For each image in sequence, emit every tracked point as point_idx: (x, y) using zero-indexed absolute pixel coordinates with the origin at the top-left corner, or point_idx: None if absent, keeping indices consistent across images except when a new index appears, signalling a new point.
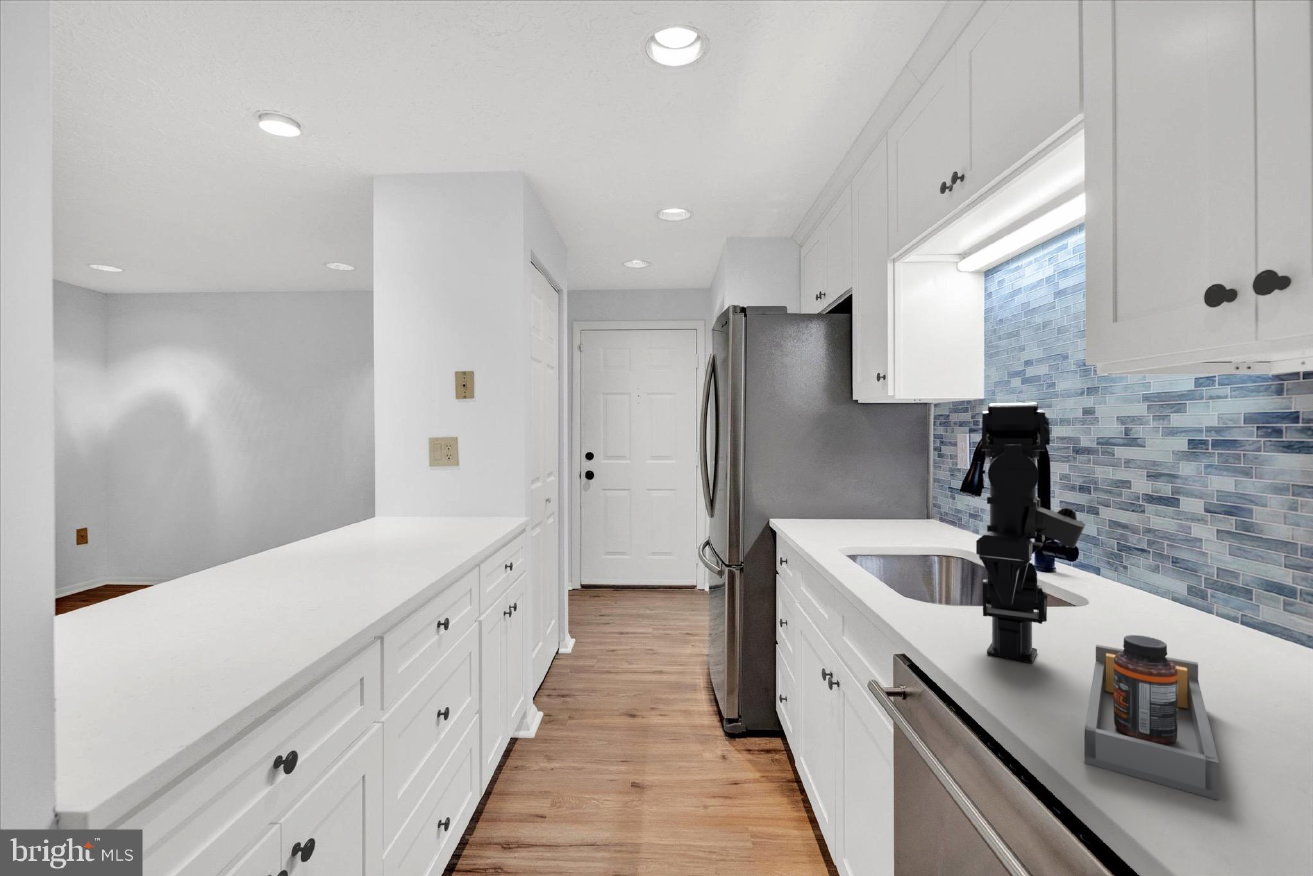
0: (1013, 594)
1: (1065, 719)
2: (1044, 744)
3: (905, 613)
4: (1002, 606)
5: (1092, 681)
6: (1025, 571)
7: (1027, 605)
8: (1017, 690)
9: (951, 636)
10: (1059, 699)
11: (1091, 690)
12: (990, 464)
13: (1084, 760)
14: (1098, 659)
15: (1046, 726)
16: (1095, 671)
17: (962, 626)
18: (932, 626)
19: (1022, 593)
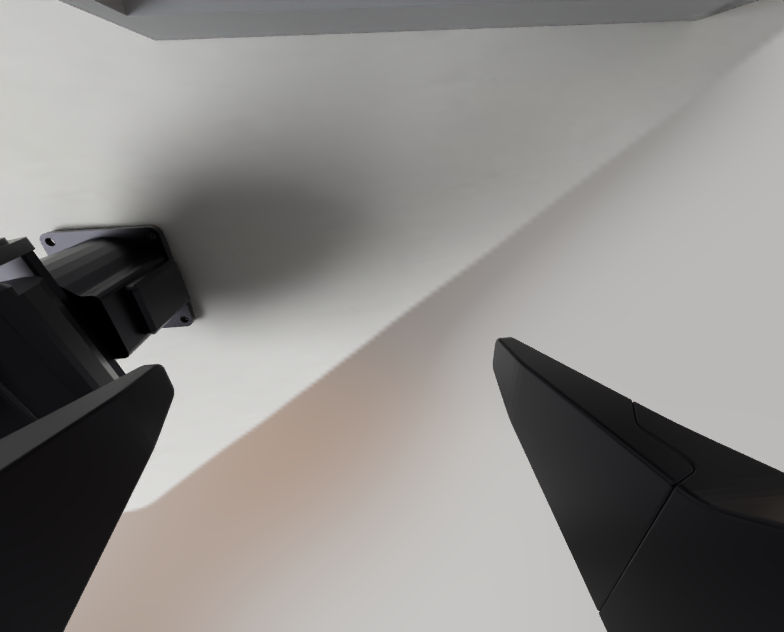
0: (557, 361)
1: (477, 92)
2: (632, 115)
3: None
4: (114, 373)
5: (377, 6)
6: (51, 440)
7: (53, 308)
8: (369, 218)
9: None
10: (358, 123)
11: (467, 1)
12: None
13: (699, 18)
14: (120, 2)
15: (539, 126)
16: (261, 5)
17: None
18: None
19: (20, 355)
